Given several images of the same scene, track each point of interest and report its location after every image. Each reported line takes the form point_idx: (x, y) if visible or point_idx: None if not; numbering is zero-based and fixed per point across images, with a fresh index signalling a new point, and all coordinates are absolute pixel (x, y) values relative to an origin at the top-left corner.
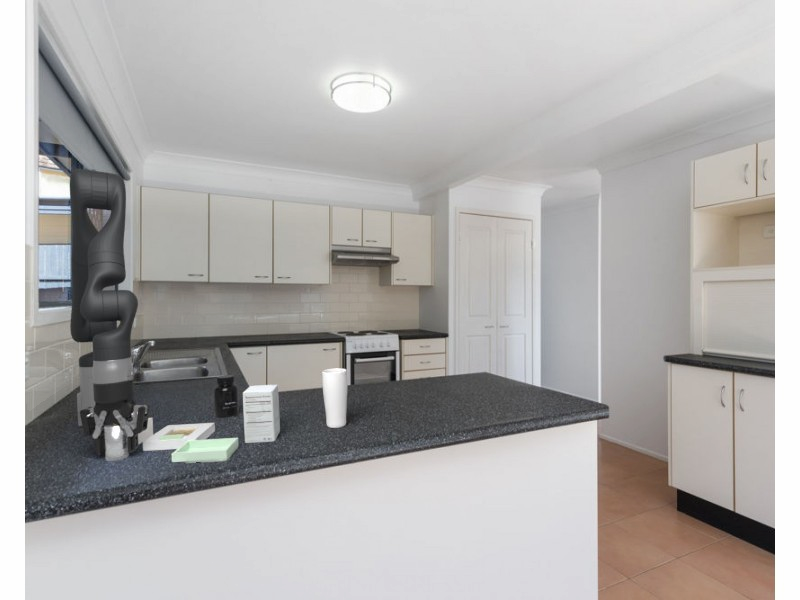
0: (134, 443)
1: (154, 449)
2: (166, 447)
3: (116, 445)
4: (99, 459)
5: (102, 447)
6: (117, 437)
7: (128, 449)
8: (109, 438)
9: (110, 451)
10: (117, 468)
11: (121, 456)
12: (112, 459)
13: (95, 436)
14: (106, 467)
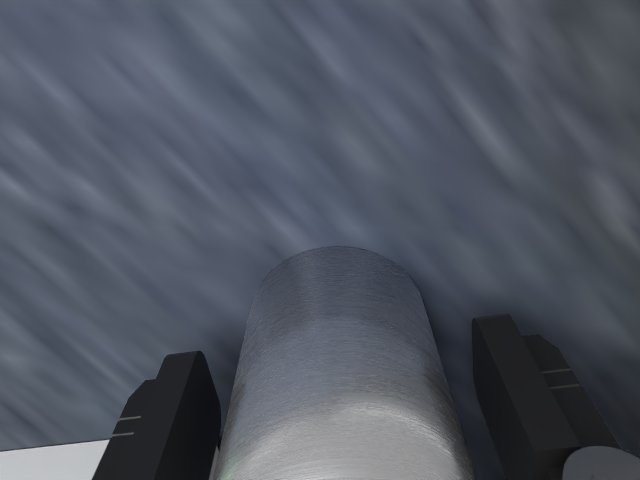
0: (120, 435)
1: None
2: (14, 475)
3: (266, 373)
4: None
5: (491, 386)
6: (241, 463)
7: (183, 371)
8: (338, 432)
9: (327, 310)
10: (155, 135)
11: (253, 311)
12: (312, 266)
13: (602, 471)
14: (295, 158)
